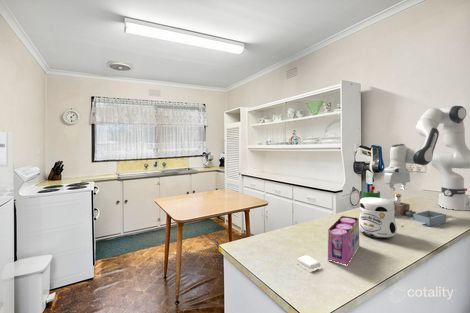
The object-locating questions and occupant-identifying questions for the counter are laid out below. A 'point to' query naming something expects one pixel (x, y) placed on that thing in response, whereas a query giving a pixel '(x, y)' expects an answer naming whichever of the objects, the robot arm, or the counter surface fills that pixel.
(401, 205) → the bracket
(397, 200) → the pin
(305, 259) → the soap
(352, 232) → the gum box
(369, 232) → the milk container
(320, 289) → the counter surface
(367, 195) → the motor
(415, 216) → the tray
